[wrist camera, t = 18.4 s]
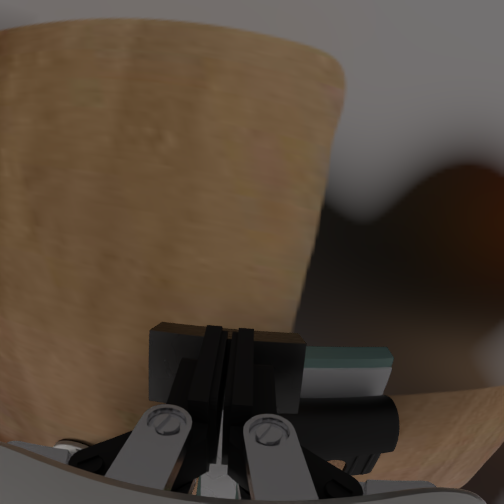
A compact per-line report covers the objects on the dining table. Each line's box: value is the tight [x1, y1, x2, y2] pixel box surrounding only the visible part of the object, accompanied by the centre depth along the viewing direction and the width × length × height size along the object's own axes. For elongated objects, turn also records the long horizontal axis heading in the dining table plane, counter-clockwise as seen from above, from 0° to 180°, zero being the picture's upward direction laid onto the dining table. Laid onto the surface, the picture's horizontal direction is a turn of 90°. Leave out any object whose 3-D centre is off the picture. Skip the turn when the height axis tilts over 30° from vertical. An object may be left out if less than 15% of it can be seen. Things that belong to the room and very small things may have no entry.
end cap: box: [277, 395, 399, 475], centre depth 24 cm, size 10×7×7 cm
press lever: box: [149, 322, 306, 499], centre depth 12 cm, size 16×6×3 cm, turn 175°
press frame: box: [196, 346, 394, 499], centre depth 22 cm, size 11×17×16 cm, turn 85°
